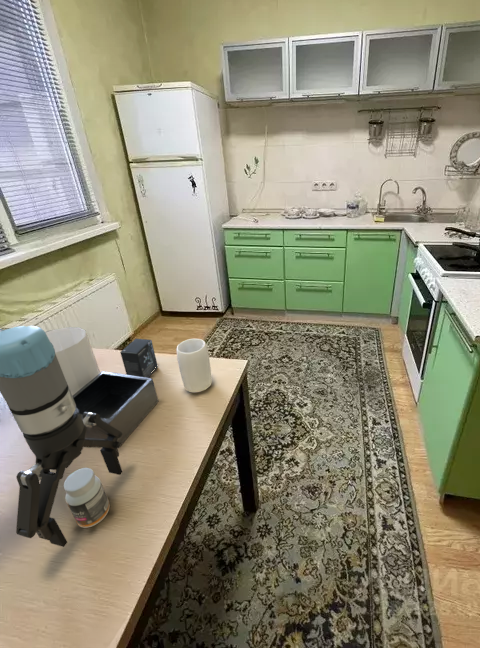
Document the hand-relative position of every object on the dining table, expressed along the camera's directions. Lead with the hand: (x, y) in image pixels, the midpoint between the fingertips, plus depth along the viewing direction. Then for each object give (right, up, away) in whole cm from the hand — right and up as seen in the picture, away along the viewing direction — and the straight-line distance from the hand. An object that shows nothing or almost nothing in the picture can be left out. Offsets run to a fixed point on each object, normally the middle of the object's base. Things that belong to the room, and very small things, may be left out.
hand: (90, 504), depth 61 cm
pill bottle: (0, -3, +1) cm, 3 cm away
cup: (+11, +13, +34) cm, 38 cm away
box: (-8, +15, +40) cm, 44 cm away
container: (-24, +11, +33) cm, 43 cm away
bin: (-8, +8, +24) cm, 26 cm away
